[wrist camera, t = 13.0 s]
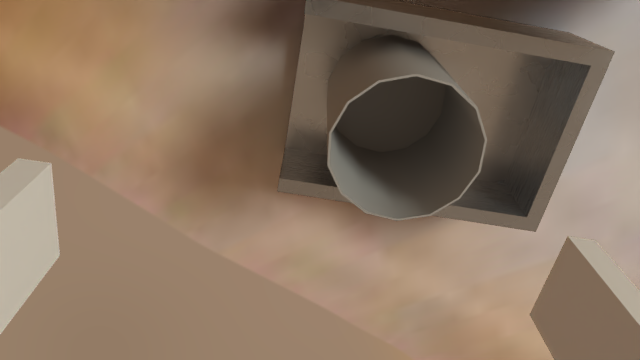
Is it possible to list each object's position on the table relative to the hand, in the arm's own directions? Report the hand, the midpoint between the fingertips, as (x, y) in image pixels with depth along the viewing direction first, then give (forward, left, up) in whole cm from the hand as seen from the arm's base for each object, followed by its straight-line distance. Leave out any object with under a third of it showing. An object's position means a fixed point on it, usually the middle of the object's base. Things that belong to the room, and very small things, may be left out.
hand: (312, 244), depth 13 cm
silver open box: (+8, -2, -24) cm, 26 cm away
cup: (+5, -2, -24) cm, 24 cm away
